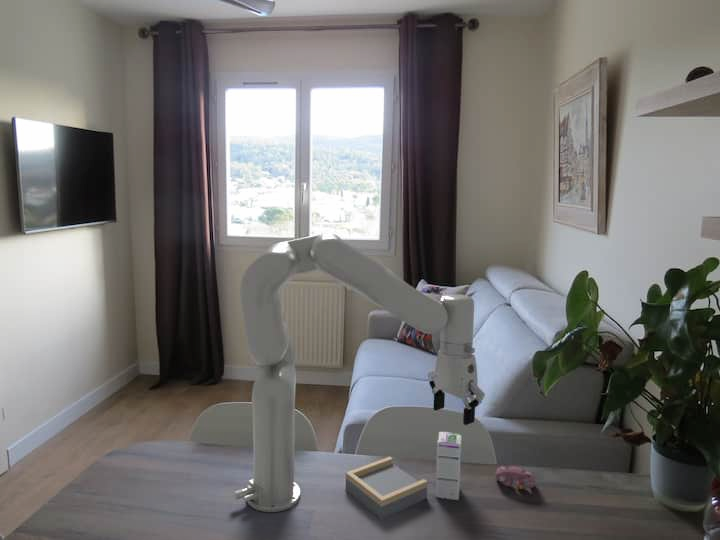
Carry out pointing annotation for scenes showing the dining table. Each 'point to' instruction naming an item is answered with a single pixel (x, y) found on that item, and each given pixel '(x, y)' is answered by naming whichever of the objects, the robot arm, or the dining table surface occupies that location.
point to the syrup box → (448, 465)
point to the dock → (385, 487)
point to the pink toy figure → (515, 477)
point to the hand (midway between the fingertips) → (453, 415)
